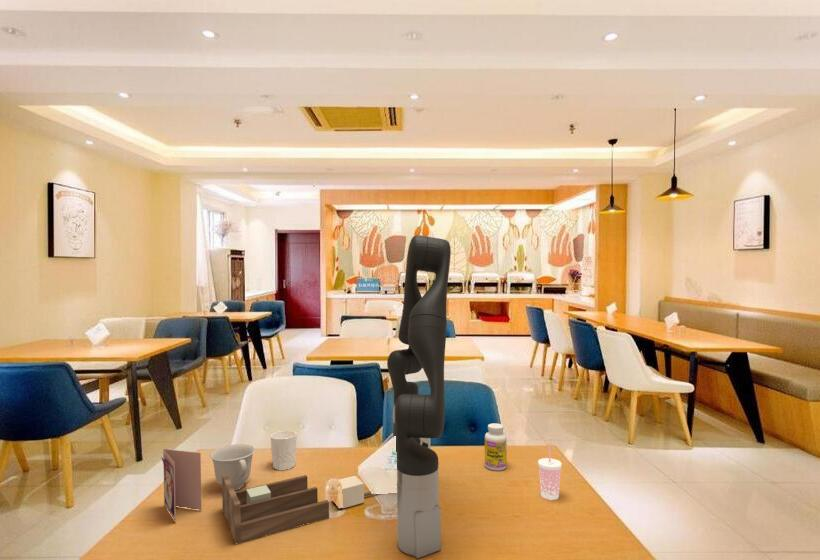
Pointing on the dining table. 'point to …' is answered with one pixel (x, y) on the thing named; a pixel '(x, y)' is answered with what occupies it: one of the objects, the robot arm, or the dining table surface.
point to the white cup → (283, 449)
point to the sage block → (257, 494)
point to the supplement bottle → (495, 447)
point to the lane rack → (271, 508)
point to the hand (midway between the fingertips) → (406, 480)
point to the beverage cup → (549, 477)
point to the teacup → (233, 463)
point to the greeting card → (181, 480)
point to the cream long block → (353, 491)
